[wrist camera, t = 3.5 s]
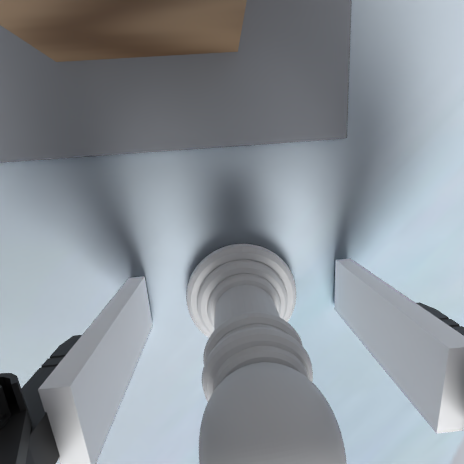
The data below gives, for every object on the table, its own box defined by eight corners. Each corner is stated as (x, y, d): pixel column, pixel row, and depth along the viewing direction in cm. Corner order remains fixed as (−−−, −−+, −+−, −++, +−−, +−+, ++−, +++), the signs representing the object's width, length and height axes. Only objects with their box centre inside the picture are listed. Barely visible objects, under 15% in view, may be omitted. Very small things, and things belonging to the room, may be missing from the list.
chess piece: (297, 329, 14) (432, 600, 5) (197, 345, 14) (164, 649, 5) (287, 232, 13) (446, 378, 4) (178, 249, 13) (86, 439, 4)
